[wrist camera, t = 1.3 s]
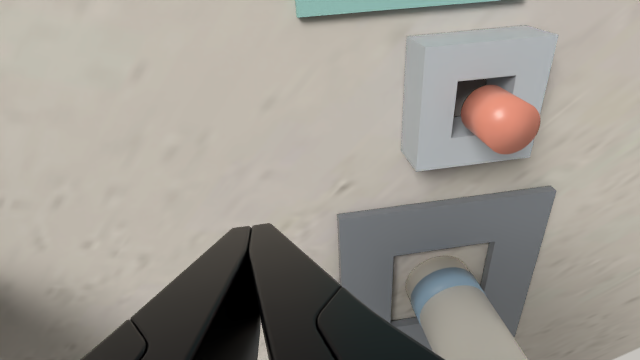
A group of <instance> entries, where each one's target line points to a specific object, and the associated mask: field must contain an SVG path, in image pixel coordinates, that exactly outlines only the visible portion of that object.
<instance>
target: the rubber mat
mask: <svg viewBox="0 0 640 360" xmlns="http://www.w3.org/2000/svg"><path fill="white" fill-rule="evenodd" d="M487 1H499V0H295V2H296V14H297V18H298V17H309V16H321V15H333V14H345V13H357V12H369V11H380V10H392V9H404V8H416V7H428V6H439V5H451V4H463V3H475V2H487Z"/></svg>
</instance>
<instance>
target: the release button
mask: <svg viewBox="0 0 640 360" xmlns="http://www.w3.org/2000/svg"><path fill="white" fill-rule="evenodd" d="M461 120H462V122H463V124H464V126H465V127H466V128H467V129H468V130H470V131H471V132H472V133H473V134H474V135H475V136H477V137H478V138H479V139H480V140H481V141H482V142H484V143H485V144H486V145H487V146H488V147H490V148H491V149H492V150H493V151H495V152H496V153H499V154H512V153H515V152H518V151H520V150H522V149H523V148H525V147H526V146H527V145H528V144H529V143H530V142H531V141H532V140H533V139H534V137H535V136H536V134H537V132H538V130H539V126H540V115H539V112H538V110H537V109H536V108H535V107H534V106H533V105H531V104H529V103H527V102H526V101H524V100H522V99H520V98H519V97H517V96H515V95H513V94H512V93H510V92H508V91H506V90H505V89H503V88H501V87H499V86H497V85H485V86H482V87H479V88H478V89H476V90H474V91H473V92H472V93H471V94H470V95H469V96H468V97H467V99H466V100H465V102H464V104H463V106H462V109H461Z"/></svg>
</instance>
